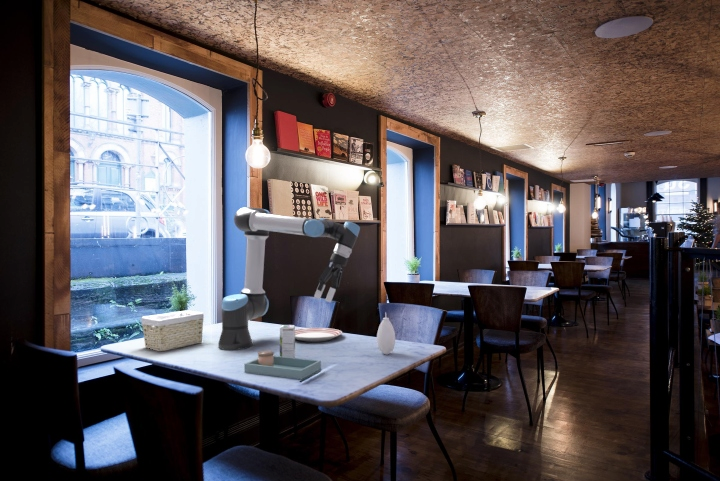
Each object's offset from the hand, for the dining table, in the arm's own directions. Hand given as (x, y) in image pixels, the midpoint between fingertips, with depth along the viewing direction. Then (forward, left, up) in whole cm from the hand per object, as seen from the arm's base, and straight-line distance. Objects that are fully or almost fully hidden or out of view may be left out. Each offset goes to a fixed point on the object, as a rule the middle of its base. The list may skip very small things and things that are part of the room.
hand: (322, 300), depth 208 cm
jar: (-5, -36, -21) cm, 42 cm away
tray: (+3, -36, -22) cm, 43 cm away
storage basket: (-71, -16, -23) cm, 76 cm away
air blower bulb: (+28, +5, -23) cm, 36 cm away
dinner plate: (-17, +23, -23) cm, 36 cm away
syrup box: (-4, -22, -23) cm, 32 cm away
